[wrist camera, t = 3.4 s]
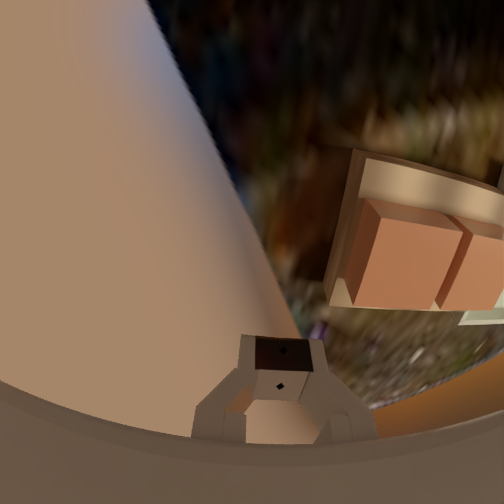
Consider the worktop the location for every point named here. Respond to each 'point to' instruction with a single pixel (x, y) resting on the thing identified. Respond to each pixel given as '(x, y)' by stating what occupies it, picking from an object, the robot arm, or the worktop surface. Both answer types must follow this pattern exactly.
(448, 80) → the worktop surface
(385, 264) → the tile
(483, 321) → the tray
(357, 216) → the bench
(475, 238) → the tile
